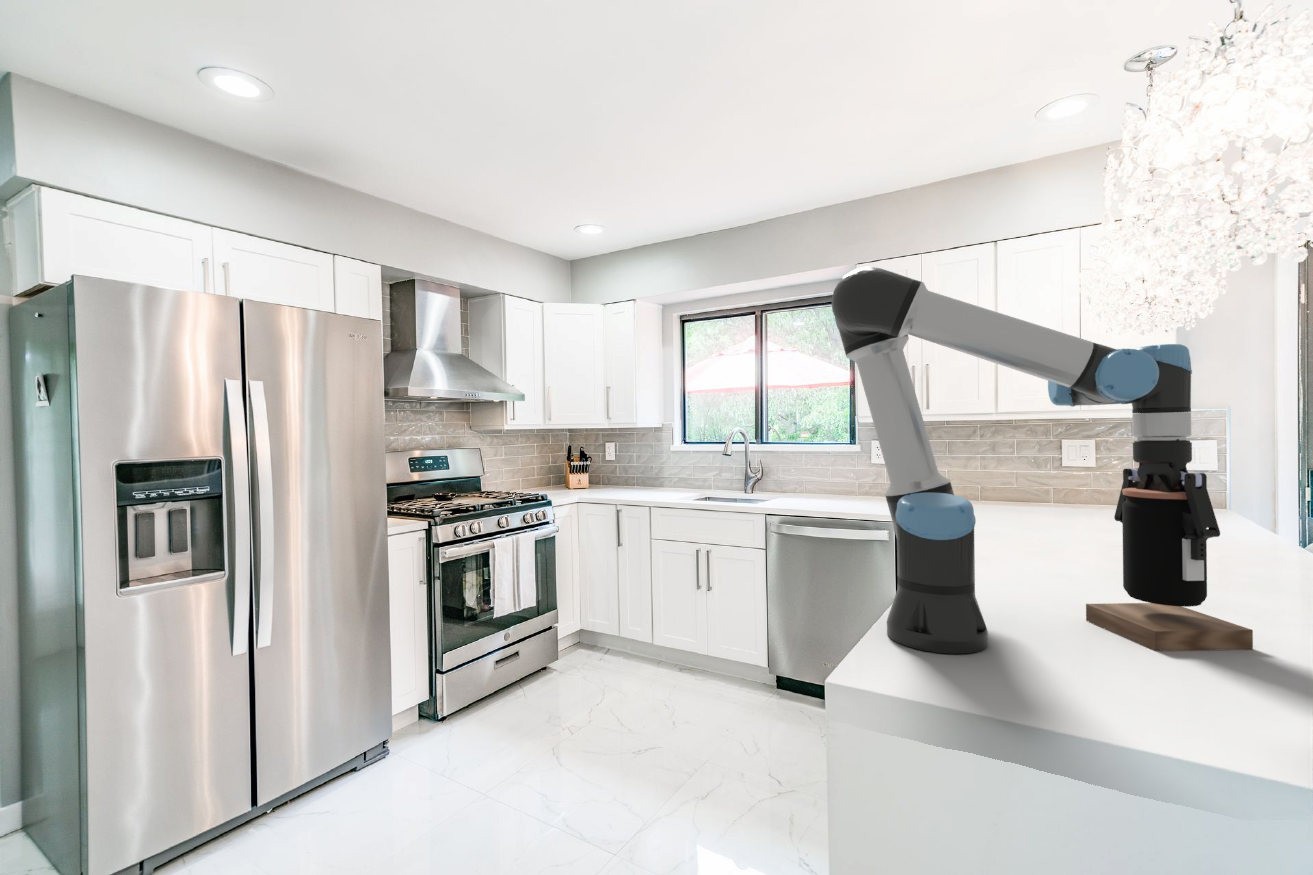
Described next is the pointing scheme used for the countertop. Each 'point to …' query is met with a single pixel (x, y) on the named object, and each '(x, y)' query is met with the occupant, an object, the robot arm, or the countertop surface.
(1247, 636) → the walnut riser
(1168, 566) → the coffee jar
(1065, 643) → the countertop surface
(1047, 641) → the countertop surface
